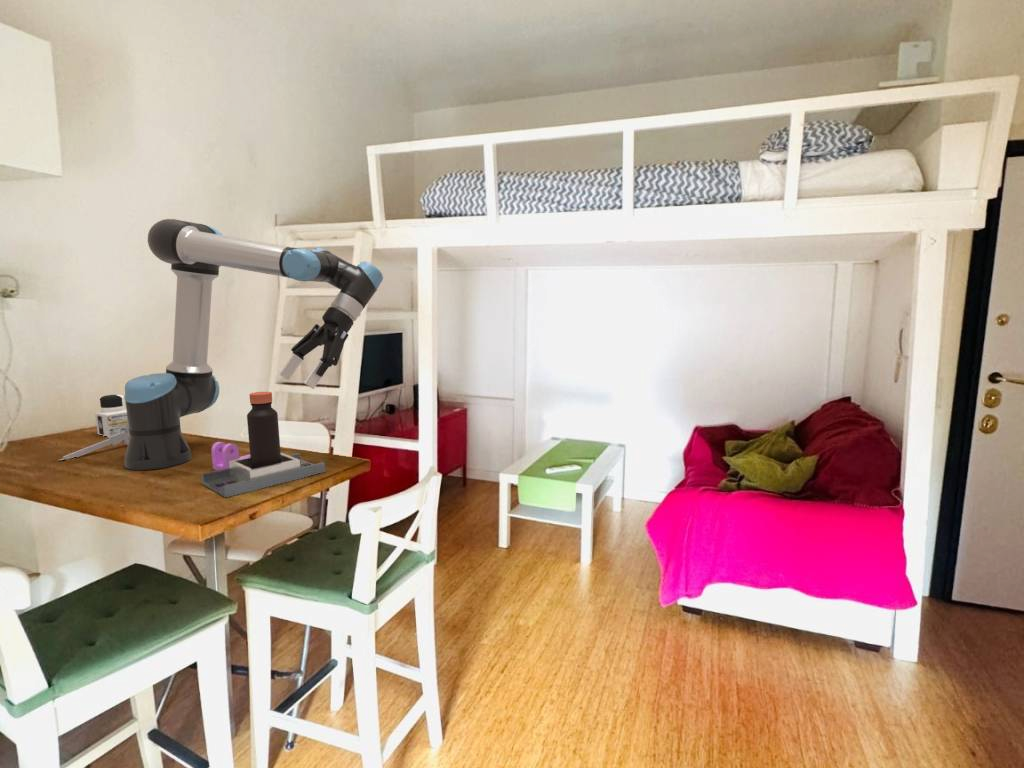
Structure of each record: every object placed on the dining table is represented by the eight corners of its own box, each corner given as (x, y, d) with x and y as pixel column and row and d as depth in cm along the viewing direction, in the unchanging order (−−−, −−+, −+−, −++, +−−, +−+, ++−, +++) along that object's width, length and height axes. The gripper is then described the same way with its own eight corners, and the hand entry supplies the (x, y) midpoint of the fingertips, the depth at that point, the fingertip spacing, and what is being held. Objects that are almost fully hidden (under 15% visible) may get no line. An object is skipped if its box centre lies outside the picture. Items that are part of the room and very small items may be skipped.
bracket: (227, 472, 143) (224, 446, 142) (213, 469, 145) (210, 443, 144) (270, 459, 154) (268, 434, 153) (256, 457, 156) (254, 432, 155)
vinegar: (286, 469, 141) (280, 390, 138) (275, 478, 134) (268, 395, 131) (259, 469, 141) (252, 391, 138) (246, 478, 134) (239, 395, 131)
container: (109, 438, 180) (104, 398, 178) (97, 435, 183) (92, 396, 182) (135, 433, 186) (130, 394, 184) (123, 430, 190) (118, 392, 188)
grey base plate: (202, 484, 133) (200, 465, 133) (298, 462, 151) (297, 445, 150) (225, 497, 124) (223, 478, 123) (325, 472, 141) (324, 455, 141)
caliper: (135, 445, 172) (133, 424, 171) (137, 445, 171) (135, 425, 170) (58, 462, 154) (55, 440, 153) (60, 463, 153) (57, 440, 152)
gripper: (378, 327, 142) (331, 398, 136) (328, 318, 159) (285, 381, 153) (357, 309, 137) (308, 381, 131) (308, 302, 154) (262, 366, 148)
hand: (295, 381), depth 142 cm, fingers open, 13 cm apart
